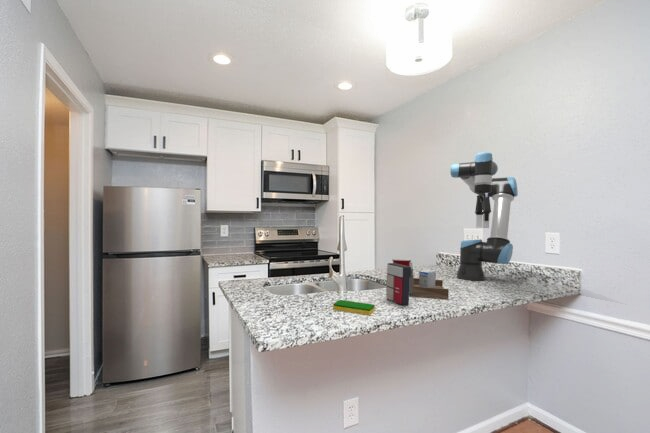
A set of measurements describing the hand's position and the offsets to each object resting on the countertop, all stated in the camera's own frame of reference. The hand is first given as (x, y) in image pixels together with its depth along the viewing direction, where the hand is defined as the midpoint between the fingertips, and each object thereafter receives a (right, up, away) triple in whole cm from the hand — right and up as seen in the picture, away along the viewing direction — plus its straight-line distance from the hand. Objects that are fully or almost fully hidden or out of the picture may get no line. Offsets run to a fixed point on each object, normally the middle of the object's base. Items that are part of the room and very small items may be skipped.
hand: (482, 227), depth 149 cm
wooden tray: (-29, -30, -6) cm, 42 cm away
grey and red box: (-48, -29, -25) cm, 61 cm away
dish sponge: (-67, -29, -38) cm, 82 cm away
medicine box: (-29, -29, -7) cm, 42 cm away
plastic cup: (-34, -30, +22) cm, 51 cm away
